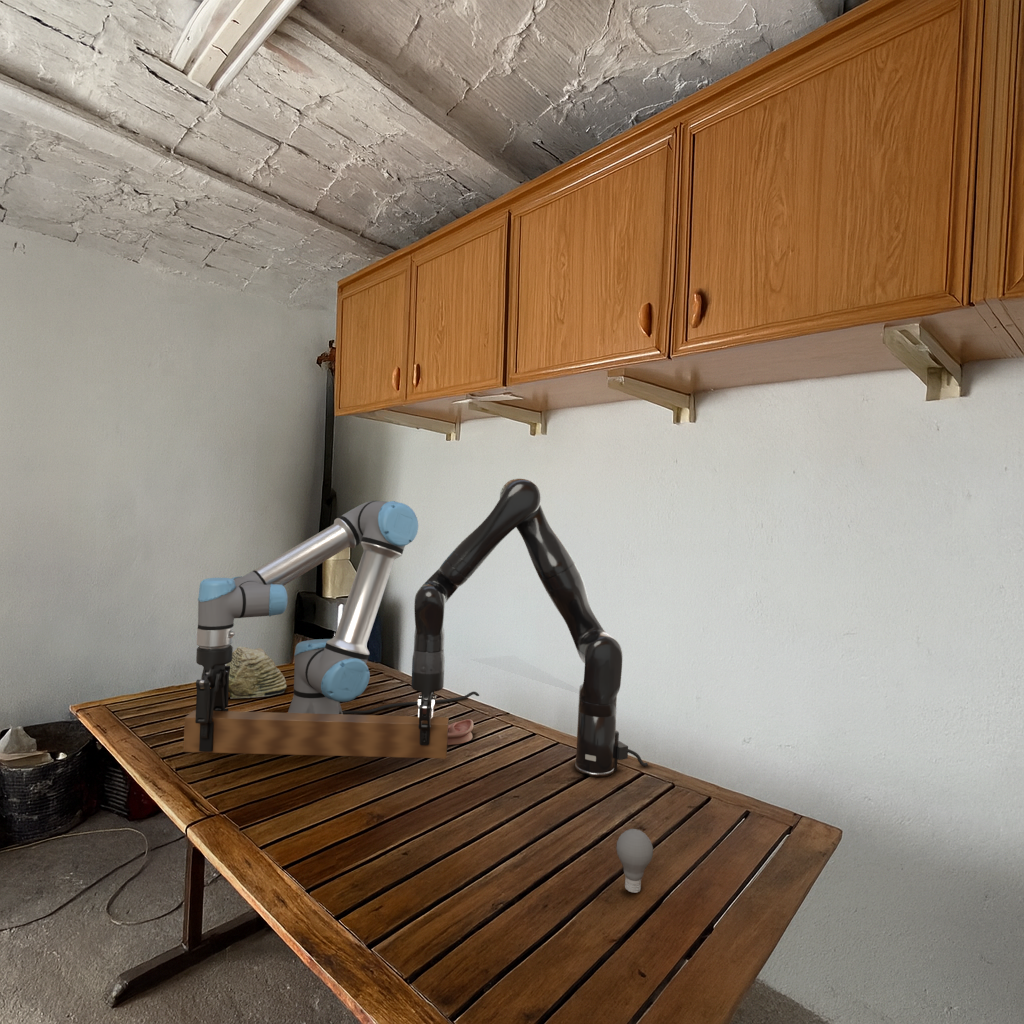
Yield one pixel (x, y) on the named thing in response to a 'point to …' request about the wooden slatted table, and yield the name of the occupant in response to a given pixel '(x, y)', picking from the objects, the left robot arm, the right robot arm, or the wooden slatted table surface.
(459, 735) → the anatomical model
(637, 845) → the light bulb
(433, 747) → the beam
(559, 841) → the wooden slatted table surface
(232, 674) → the fossil
